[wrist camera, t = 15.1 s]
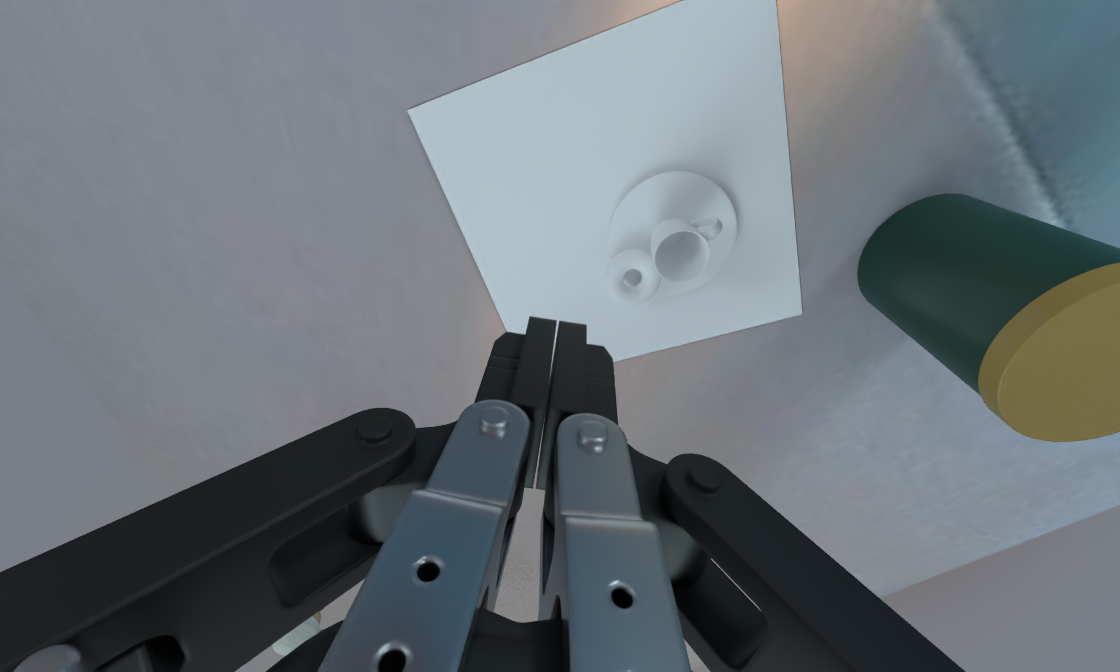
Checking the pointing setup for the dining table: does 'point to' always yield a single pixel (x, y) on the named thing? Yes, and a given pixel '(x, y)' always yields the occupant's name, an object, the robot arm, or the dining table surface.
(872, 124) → the dining table surface
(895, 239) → the tea tin
